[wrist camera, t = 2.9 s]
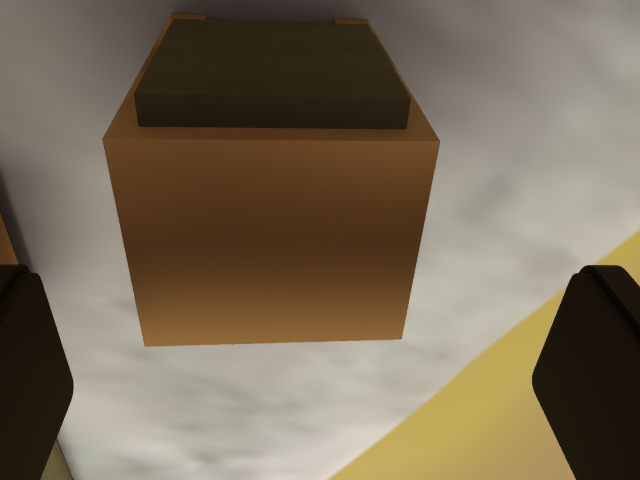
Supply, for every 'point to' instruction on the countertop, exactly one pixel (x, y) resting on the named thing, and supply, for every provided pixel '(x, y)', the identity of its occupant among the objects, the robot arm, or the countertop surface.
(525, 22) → the countertop surface
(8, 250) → the wooden block
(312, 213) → the brown capped cube
